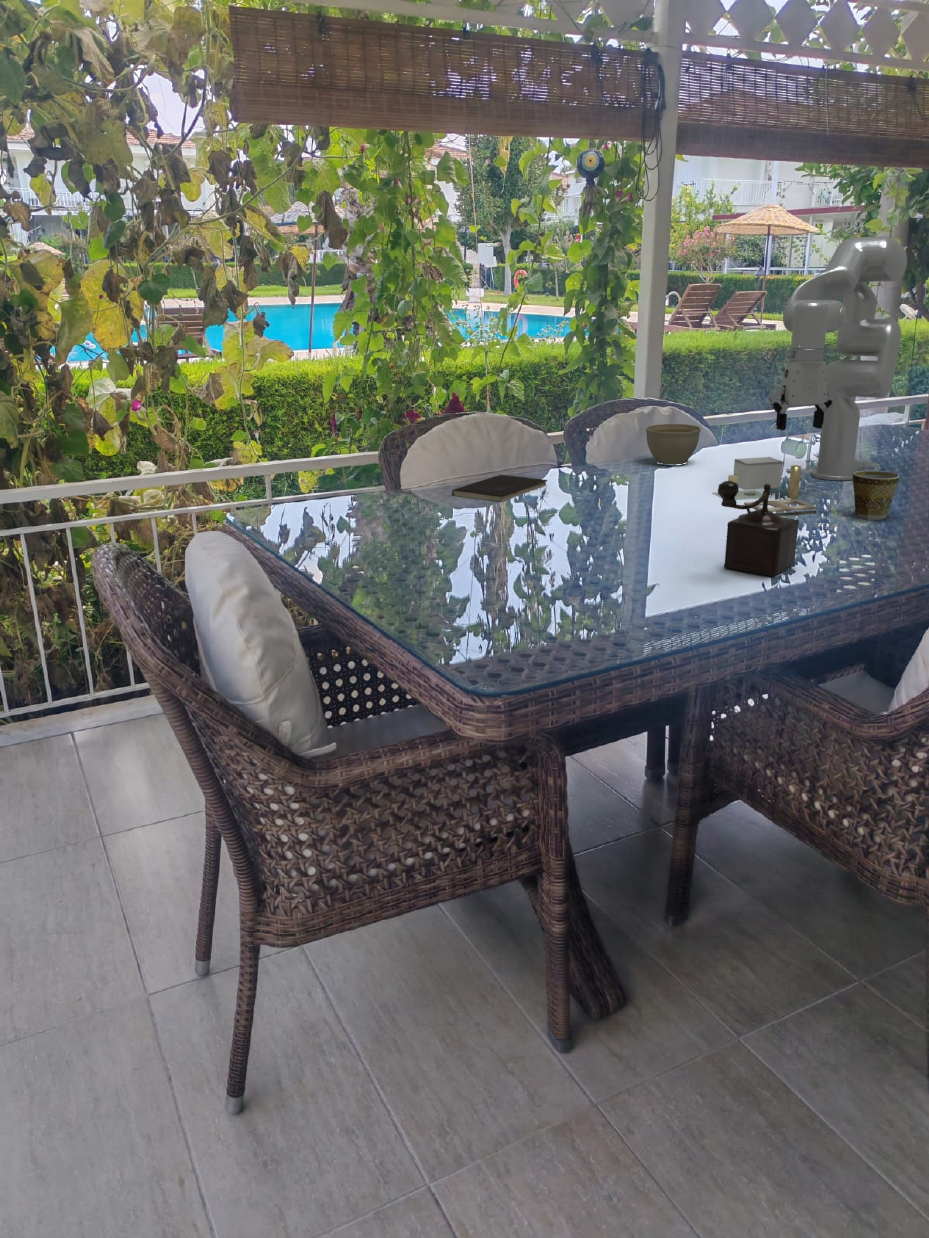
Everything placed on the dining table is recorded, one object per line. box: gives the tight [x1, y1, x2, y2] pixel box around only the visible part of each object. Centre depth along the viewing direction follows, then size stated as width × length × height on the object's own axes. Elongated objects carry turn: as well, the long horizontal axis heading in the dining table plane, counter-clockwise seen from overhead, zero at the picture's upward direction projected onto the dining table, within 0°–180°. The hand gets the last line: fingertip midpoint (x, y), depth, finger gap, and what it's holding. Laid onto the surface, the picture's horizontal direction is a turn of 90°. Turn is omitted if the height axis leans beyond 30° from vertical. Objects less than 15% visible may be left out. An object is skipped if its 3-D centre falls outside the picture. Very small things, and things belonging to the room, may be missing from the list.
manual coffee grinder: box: [717, 480, 800, 578], centre depth 180 cm, size 16×11×18 cm
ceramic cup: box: [852, 469, 900, 521], centre depth 220 cm, size 13×10×10 cm
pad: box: [711, 474, 772, 501], centre depth 238 cm, size 12×9×6 cm
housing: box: [733, 456, 784, 491], centre depth 248 cm, size 10×7×8 cm
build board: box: [743, 498, 817, 517], centre depth 227 cm, size 14×9×2 cm, turn 102°
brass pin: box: [787, 464, 802, 499], centre depth 234 cm, size 2×2×9 cm
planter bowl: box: [645, 423, 702, 464], centre depth 285 cm, size 16×16×11 cm
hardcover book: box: [451, 474, 548, 503], centre depth 256 cm, size 16×23×2 cm
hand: (799, 428), depth 229 cm, fingers open, 9 cm apart
